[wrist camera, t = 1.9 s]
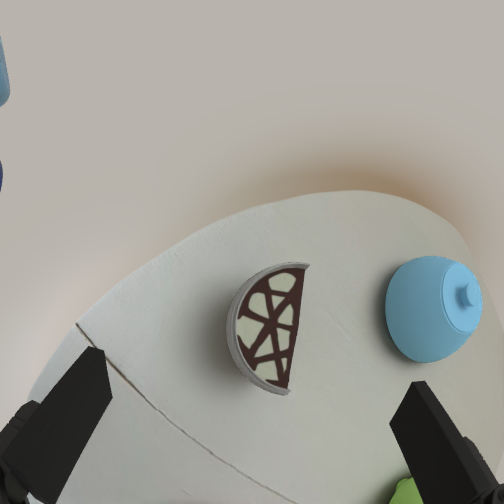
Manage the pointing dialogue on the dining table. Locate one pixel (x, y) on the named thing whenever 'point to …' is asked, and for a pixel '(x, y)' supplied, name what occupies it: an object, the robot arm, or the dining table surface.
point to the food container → (267, 325)
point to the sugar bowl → (432, 307)
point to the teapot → (406, 493)
